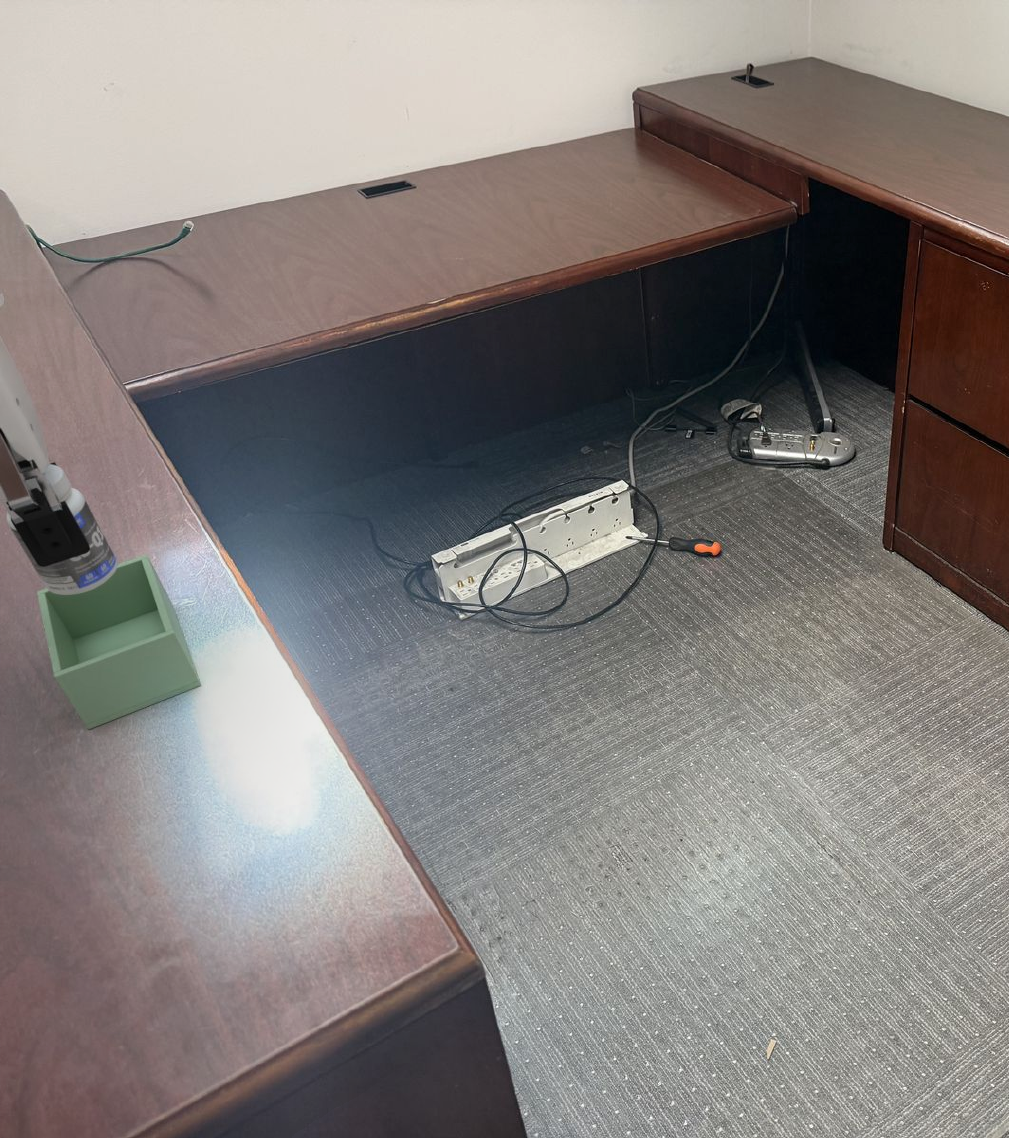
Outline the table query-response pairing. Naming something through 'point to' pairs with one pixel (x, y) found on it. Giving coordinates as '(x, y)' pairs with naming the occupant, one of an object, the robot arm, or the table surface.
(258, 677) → the table surface
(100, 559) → the pill bottle
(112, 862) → the table surface
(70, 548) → the robot arm
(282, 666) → the table surface
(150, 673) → the bin
